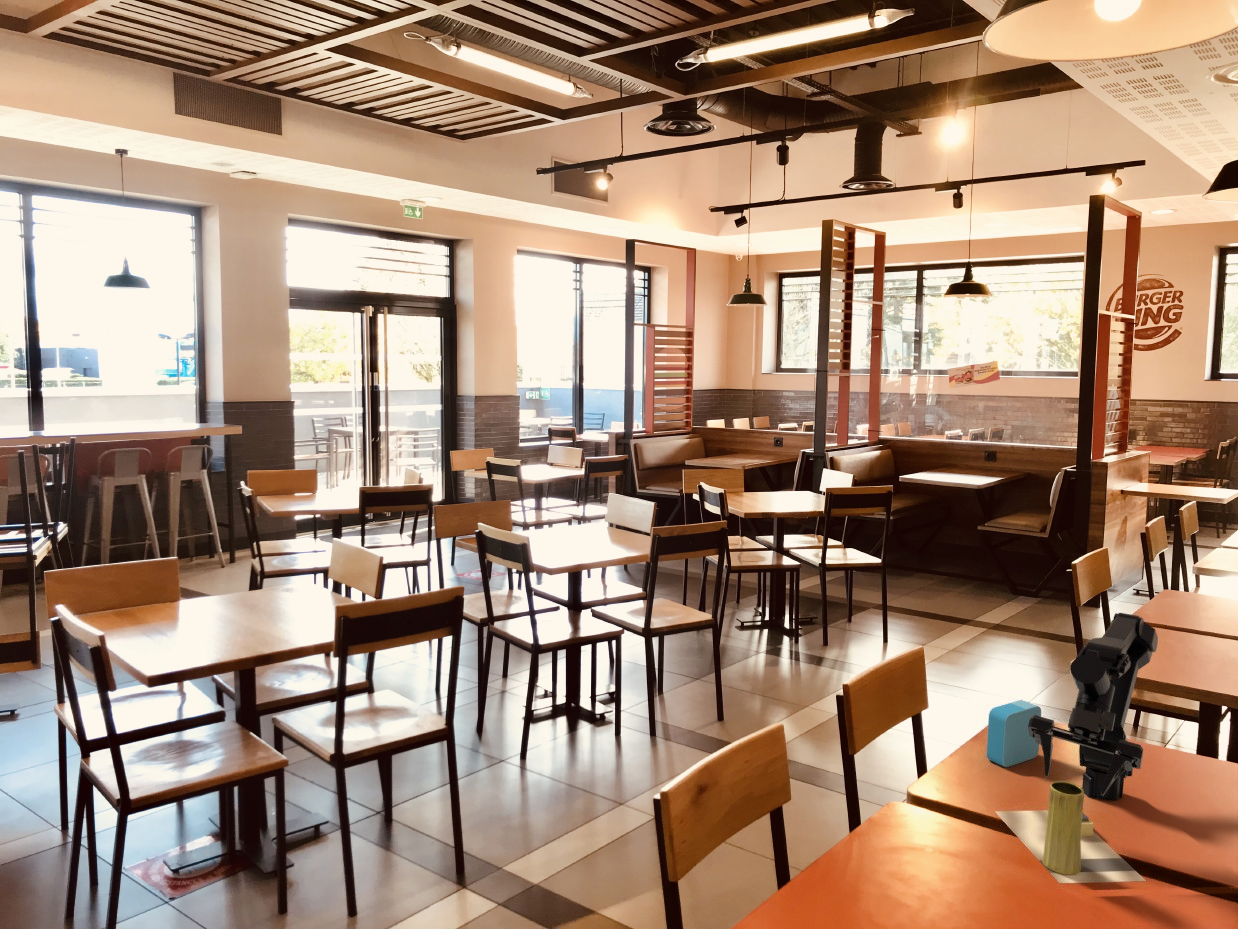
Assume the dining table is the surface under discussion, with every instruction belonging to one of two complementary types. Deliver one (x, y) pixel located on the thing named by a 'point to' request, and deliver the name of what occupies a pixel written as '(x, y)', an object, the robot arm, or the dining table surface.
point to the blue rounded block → (1011, 733)
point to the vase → (1064, 828)
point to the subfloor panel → (1095, 853)
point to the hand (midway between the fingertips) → (1073, 785)
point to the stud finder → (1086, 826)
